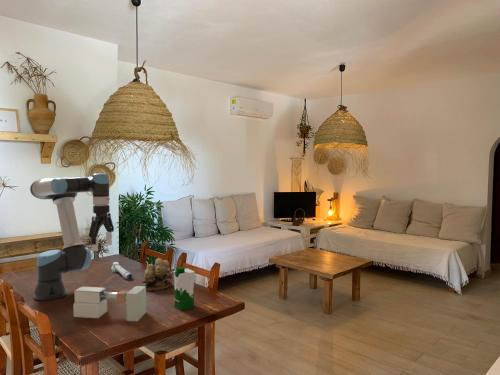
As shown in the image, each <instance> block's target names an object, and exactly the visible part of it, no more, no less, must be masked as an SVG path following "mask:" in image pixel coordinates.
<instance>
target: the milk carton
mask: <svg viewBox="0 0 500 375" xmlns="http://www.w3.org/2000/svg"><path fill="white" fill-rule="evenodd" d="M172 272H173V279H174V307H175V308H176V309H178V310H180V311H185V310H189V309H193V308H195V272H196V271H195V270H192V269H190V268H185V266H177V267H176V268H175V270H173V271H172Z"/></svg>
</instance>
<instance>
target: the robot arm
mask: <svg viewBox="0 0 500 375" xmlns="http://www.w3.org/2000/svg"><path fill="white" fill-rule="evenodd" d="M29 191H30V194H31V196H33V197H35V198H37V199H40V200H52V203H53V205H56V209H57V214H58V220H59V221H58V222H59V226H60V230H61V235H62V236H61V237H62V239H63V240H62V242H63V247H62V249H51V250H47V251H44V252H42V253H39V254H38V255H37V257H36V276H37V277H36V280H37V282H36V287H35V289H34V293H33V298H34V299H35V300H38V301H51V300H52V301H53V300H56V299H59V298H62V297H64V296H65V295H67V288H66V285H65V283H64V280H63V274H69V273H72V272H78V271H82V270H86V269H87V268H89V266H90V265H91V261H92V253H91V252H99V237H98V234H99V232H100V229H101V226H103V227H104V228H105V245H108V246H112V244H113V237H112V236H113V235H112V234H113V232H114V230H115V226H114V223H113V220H112V217H111V216H112V215H111V213H110V210H111V209H110V177H109V174H108V173H100V172H99V173H93V174H92V176H81V177H80V176H79V177H78V176H77V177H76V176H75V177H55V178H54V177H53V178H41V179H37V180H35V181H34V182H32V183H31V185H30V187H29ZM90 192H91V193H92V205H93V206H92V213H93V214H95V216H92V217H91V223H90V227H89V233H88V238H90V239H91V250H90V248H89V247H86V246H85V243H83V242H82V241H81V234H80V231H79V226H78V220H77V216H76V210H75V206H74V201H75V200H76V197H77V196H78V194H79V193H90Z"/></svg>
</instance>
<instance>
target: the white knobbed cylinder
mask: <svg viewBox="0 0 500 375" xmlns="http://www.w3.org/2000/svg"><path fill="white" fill-rule="evenodd" d="M111 272H112V273H114V274H115V273H119V274H121V276H122V277H123V278H124V279H125V280H126V281H130V280H132V279H133V274H132V272H130V271H129V270H126V269H125V268H124V267H122V266H121V265H120V263H119V262H118V261H114V262H113V263H112V266H111Z"/></svg>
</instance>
